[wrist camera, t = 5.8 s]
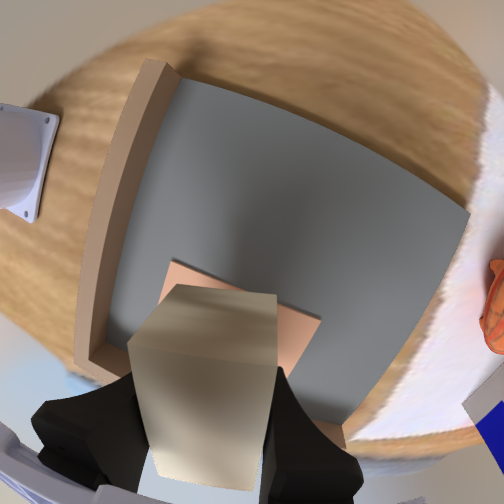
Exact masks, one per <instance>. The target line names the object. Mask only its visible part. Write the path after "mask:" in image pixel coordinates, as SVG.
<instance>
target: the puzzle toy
mask: <svg viewBox="0 0 504 504" xmlns="http://www.w3.org/2000/svg"><path fill="white" fill-rule="evenodd" d="M462 406H463V407H464V409H465V410H466V412H467V414H468V415H469V417H470V418H471V420H472V421H473V423H474V425H475V426H476V428H477V429H478V431H479V433H480V434H481V436H482V438H483V439H484V441H485V443H486V444H487V446H488V448H489V449H490V451H491V453H492V455H493V456H494V458H495V460H496V462H497V464H498V465H499V467H500V469H501V471H502V473H503V474H504V362H503V363H502V364H501V365H500V367H499V368H498V369H497V370H496V371H495V372H494V373H493V374H492V375H491V376H490V377H489V378H488V379H487V380H486V381H485V382H484V383H483V384H482V385H481V386H480V387H479V388H478V389H477V390H476V391H475V392H474V393H473V394H472V395H471V396H470V397H469V398H468V399H467V400H465V401H464V402H463V403H462Z"/></svg>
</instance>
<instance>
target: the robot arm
mask: <svg viewBox="0 0 504 504" xmlns="http://www.w3.org/2000/svg"><path fill="white" fill-rule="evenodd" d="M49 118H50V120H49ZM48 120H49V123H48ZM58 124H59V116H58V115H55V114H50V113H46V112H42V111H37V110H33V109H28V108H23V107H18V106H13V105H8V104H2V103H0V209H2V208H6V209H8V210H9V211H11V212H13V213H14V214H16V215H18V216H19V217H21V218H23V219H24V220H26V221H28V222H29V223H33V222H35V221H36V220H37V214H38V208H39V202H40V196H41V191H42V186H43V181H44V176H45V172H46V167H47V163H48V159H49V155H50V151H51V148H52V144H53V140H54V137H55V134H56V130H57V127H58ZM31 423H32V426H33V428H34V430H35V432H36V433H37V435H38V437H39V438H40V440H41V442H42V443H43V445H44V447H43V449H42V450H41V451H40V453H37V452H35V451H34V450H32V449H30V448H29V447H27V446H26V445H24V444H22V443H21V442H20V440H19V438H18V437H17V435H16V434H15V433H14V432H13V431H12V430H11V429H10V428H8V427H7V426H6V425H4V424H3V423H1V422H0V480H1V481H3V482H4V483H5V484H6V485H7V486H9V487H10V488H11V489H13V490H14V491H15V492H17V493H18V494H19V495H20V496H22V497H23V498H24V499H26V500H27V501H29V502H30V503H31V504H171V503H167V502H163V501H160V500H156V499H152V498H149V497H146V496H142V495H139V494H137V491H138V486H139V481H140V478H141V474H142V470H143V466H144V463H145V460H146V456H147V453H148V450H149V447H150V446H149V442H148V439H147V435H146V432H145V428H144V424H143V420H142V416H141V412H140V408H139V403H138V399H137V394H136V390H135V385H134V380H133V375H132V371H131V372H130V373H128V374H126V375H125V376H123V377H122V378H120V379H118V380H116V381H114V382H112V383H110V384H108V385H106V386H104V387H102V388H99V389H97V390H94V391H91V392H88V393H85V394H82V395H78V396H74V397H70V398H65V399H58V400H50V401H45V402H44V403H43V404H42V406H41V407H40V408H39V409H38V410H37V412H36V413H35V414H34V415H33V416H32V418H31ZM363 483H364V479H363V474H362V471H361V468H360V466H359V463H358V461H357V459H356V458H355V457H353V456H351V455H350V454H348V453H347V452H345V451H344V450H342V449H341V448H339V447H338V446H337V445H336V444H334V443H333V442H332V441H331V440H330V439H329V438H328V437H327V436H326V435H324V434H323V433H322V432H321V431H320V430H319V429H318V427H317V426H316V425H315V424H314V423H313V422H312V420H311V419H310V418H309V417H308V415H307V414H306V413H305V411H304V410H303V408H302V407H301V405H300V404H299V402H298V400H297V399H296V397H295V395H294V393H293V391H292V389H291V387H290V385H289V383H288V381H287V378H286V376H285V373H284V370H283V368H282V367H281V366H278V368H277V374H276V380H275V385H274V391H273V397H272V402H271V408H270V413H269V418H268V423H267V429H266V434H265V439H264V444H263V464H262V477H261V486H260V496H259V504H354V501H353V496H354V495H355V494H356V493H357V491H358V490H359V489H360V488H361V487H362V485H363ZM398 504H426V501H425V498H424V497H419V498H415V499H412V500H408V501H404V502H400V503H398Z"/></svg>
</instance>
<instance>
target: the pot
mask: <svg viewBox="0 0 504 504" xmlns="http://www.w3.org/2000/svg"><path fill="white" fill-rule="evenodd" d="M490 269H492V270H493V272H494V273H495V279H494V281H493V283H492V285H491V287H490V290H489V293H488V296H487V299H486V303H485V308H484V315H483V318H481V319H480V320H479V323H480V326H481V329H482V331H483V333H484V338H485V342H486V344H487V346H488V347H489V349H490V350H491V351H493V352H494V353H497V354H501V355H504V259H503V260H491V261H490Z"/></svg>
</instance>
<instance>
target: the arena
mask: <svg viewBox="0 0 504 504" xmlns="http://www.w3.org/2000/svg"><path fill="white" fill-rule="evenodd" d="M470 215H471V214H470V213H469V212H468V211H466V210H465V209H464V208H462V207H461V206H459V205H458V204H457V203H455V202H454V201H453V200H451V199H450V198H448V197H447V196H445V195H444V194H442V193H441V192H440V191H438V190H437V189H435V188H434V187H432V186H431V185H429V184H428V183H426V182H424V181H423V180H421V179H420V178H418V177H417V176H415V175H413V174H412V173H410V172H408V171H407V170H405V169H404V168H402V167H400V166H398V165H397V164H395V163H393V162H392V161H390V160H388V159H386V158H385V157H383V156H381V155H379V154H377V153H376V152H374V151H372V150H370V149H368V148H366V147H364V146H362V145H360V144H359V143H357V142H355V141H353V140H351V139H349V138H347V137H345V136H343V135H340V134H338V133H336V132H334V131H332V130H330V129H328V128H326V127H323V126H321V125H319V124H317V123H314V122H312V121H310V120H308V119H305V118H303V117H300V116H298V115H296V114H293V113H291V112H288V111H286V110H283V109H281V108H278V107H275V106H273V105H270V104H267V103H265V102H262V101H259V100H256V99H253V98H251V97H248V96H245V95H242V94H239V93H236V92H232V91H229V90H226V89H223V88H219V87H216V86H213V85H209V84H206V83H202V82H198V81H194V80H191V79H187V78H183V77H181V76H180V75H179V74H178V73H177V72H176V71H175V70H174V69H173V68H172V67H171V66H170V65H169V64H168V63H167V62H163V61H158V60H152V59H145V61H144V63H143V65H142V67H141V69H140V72H139V74H138V76H137V78H136V80H135V83H134V85H133V87H132V89H131V92H130V94H129V96H128V99H127V101H126V104H125V106H124V109H123V111H122V114H121V116H120V119H119V122H118V124H117V127H116V130H115V133H114V136H113V138H112V141H111V144H110V147H109V150H108V153H107V157H106V160H105V163H104V166H103V170H102V173H101V177H100V180H99V184H98V188H97V192H96V196H95V200H94V204H93V208H92V212H91V217H90V221H89V226H88V231H87V236H86V241H85V247H84V253H83V259H82V265H81V272H80V279H79V287H78V296H77V307H76V319H75V335H74V364H75V365H77V366H79V367H80V368H82V369H84V370H85V371H87V372H89V373H90V374H92V375H94V376H96V377H97V378H99V379H101V380H103V381H105V382H106V383H108V384H110V383H112V382H114V381H116V380H118V379H120V378H122V377H123V376H125V375H126V374H128V373H130V372H131V371H132V369H131V364H130V358H129V352H128V346H127V342H128V341H129V340H130V339H131V337H132V336H133V335H134V334H135V333H136V331H137V330H138V329H139V328H140V326H141V325H142V324H143V323H144V322H145V320H146V319H147V318H148V317H149V316H150V314H151V313H152V312H153V311H154V310H155V308H156V307H157V306H158V305H159V304H160V302H161V301H162V300H163V299H164V298H165V296H166V295H167V294H168V293H169V292H170V291H171V289H172V288H173V287H174V286H175V285H176V284H185V285H193V286H201V287H209V288H218V289H227V290H236V291H245V292H255V293H265V294H275V295H277V336H278V366H281V367H282V368H283V370H284V373H285V376H286V378H287V381H288V383H289V385H290V387H291V389H292V391H293V393H294V395H295V397H296V399H297V400H298V402H299V404H300V405H301V407H302V408H303V410H304V411H305V413H306V414H307V415H308V417H309V418H310V419H311V420H312V422H313V423H314V424H315V425H316V426H317V427H318V429H319V430H320V431H321V432H322V433H323V434H324V435H326V436H327V437H328V438H329V439H330V440H331V441H332V442H333V443H334V444H336V445H337V446H338V447H339V448H341V449H342V450H344V451H345V450H346V444H345V439H344V435H343V430H342V426H341V425H342V424H343V423H344V422H345V421H346V420H347V419H348V418H349V416H350V415H351V414H352V413H353V412H354V411H355V409H356V408H357V407H358V406H359V405H360V403H361V402H362V401H363V400H364V399H365V397H366V396H367V395H368V394H369V392H370V391H371V390H372V388H373V387H374V386H375V385H376V383H377V382H378V381H379V379H380V378H381V377H382V375H383V374H384V373H385V371H386V370H387V369H388V367H389V366H390V364H391V363H392V362H393V360H394V359H395V357H396V356H397V354H398V353H399V351H400V350H401V348H402V347H403V345H404V344H405V342H406V341H407V339H408V338H409V336H410V335H411V333H412V331H413V330H414V328H415V327H416V325H417V323H418V322H419V320H420V318H421V317H422V315H423V313H424V312H425V310H426V308H427V306H428V305H429V303H430V301H431V299H432V297H433V295H434V294H435V292H436V290H437V288H438V286H439V284H440V282H441V280H442V278H443V276H444V274H445V272H446V270H447V268H448V266H449V264H450V262H451V260H452V258H453V255H454V253H455V251H456V249H457V247H458V244H459V242H460V240H461V237H462V235H463V232H464V230H465V228H466V225H467V222H468V220H469V217H470Z"/></svg>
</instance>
